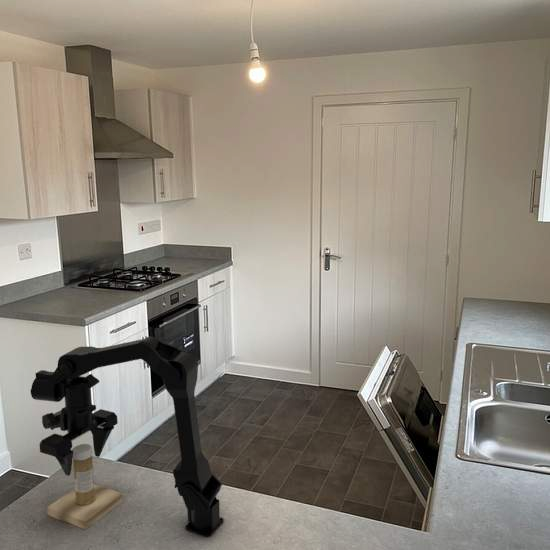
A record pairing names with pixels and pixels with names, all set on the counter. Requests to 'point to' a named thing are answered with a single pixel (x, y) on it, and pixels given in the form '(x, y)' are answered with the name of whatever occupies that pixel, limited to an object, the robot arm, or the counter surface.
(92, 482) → the sprinkles bottle
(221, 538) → the counter surface
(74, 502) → the tan block
